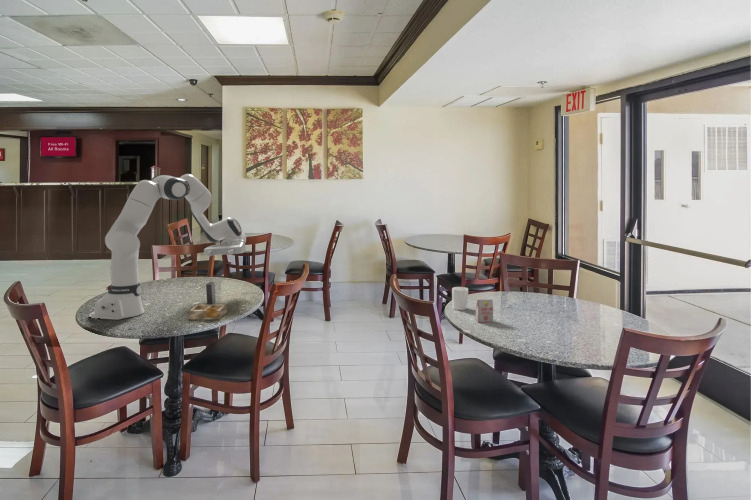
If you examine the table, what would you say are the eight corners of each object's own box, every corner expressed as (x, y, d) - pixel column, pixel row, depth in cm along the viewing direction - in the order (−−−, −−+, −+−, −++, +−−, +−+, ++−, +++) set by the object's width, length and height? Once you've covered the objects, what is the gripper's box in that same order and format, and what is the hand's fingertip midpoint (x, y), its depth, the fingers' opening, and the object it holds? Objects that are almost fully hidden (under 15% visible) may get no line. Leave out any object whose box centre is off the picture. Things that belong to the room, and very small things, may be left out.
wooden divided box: (189, 319, 206) (188, 308, 206) (197, 311, 218) (197, 301, 217) (219, 319, 207) (219, 308, 206) (227, 311, 218) (226, 301, 218)
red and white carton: (475, 320, 209) (476, 298, 207) (490, 319, 209) (491, 298, 208) (477, 322, 205) (478, 300, 204) (492, 322, 206) (493, 300, 204)
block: (207, 308, 224) (206, 284, 222) (210, 305, 229) (209, 282, 227) (212, 308, 224) (211, 284, 222) (215, 305, 229) (214, 282, 227)
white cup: (456, 311, 222) (457, 291, 221) (448, 307, 230) (449, 287, 228) (470, 309, 225) (471, 289, 224) (461, 305, 233) (462, 286, 231)
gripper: (209, 241, 245) (197, 249, 232) (246, 239, 242) (236, 247, 229) (211, 253, 247) (200, 261, 233) (248, 250, 244) (238, 259, 231)
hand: (218, 254), depth 231 cm, fingers open, 8 cm apart
